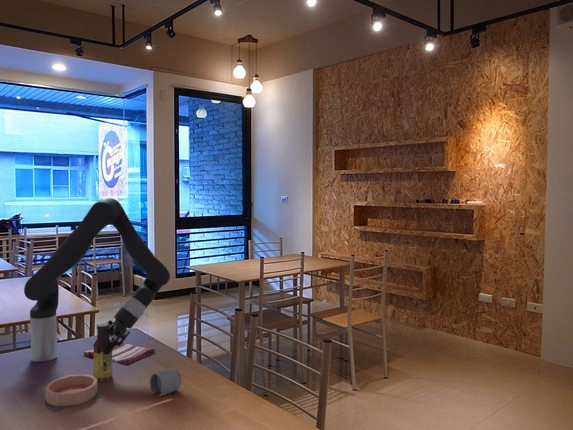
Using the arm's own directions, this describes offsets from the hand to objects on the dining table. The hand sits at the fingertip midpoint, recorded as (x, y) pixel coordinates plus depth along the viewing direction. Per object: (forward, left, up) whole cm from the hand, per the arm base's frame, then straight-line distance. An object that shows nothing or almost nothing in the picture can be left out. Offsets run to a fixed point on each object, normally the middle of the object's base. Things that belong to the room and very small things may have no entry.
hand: (99, 350), depth 167 cm
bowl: (+7, -12, -10) cm, 17 cm away
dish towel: (-21, +16, -12) cm, 29 cm away
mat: (+7, -12, -11) cm, 18 cm away
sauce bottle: (0, +1, -11) cm, 11 cm away
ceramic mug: (+23, +12, -11) cm, 28 cm away
